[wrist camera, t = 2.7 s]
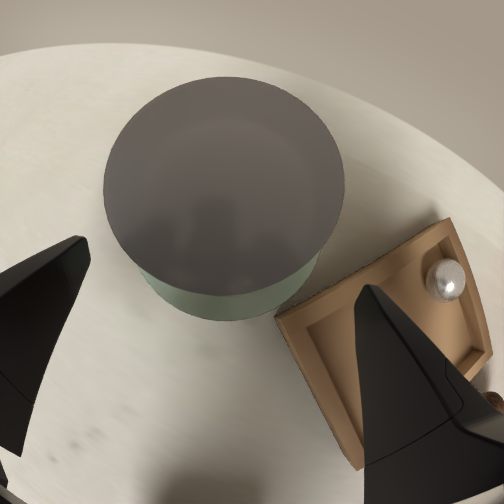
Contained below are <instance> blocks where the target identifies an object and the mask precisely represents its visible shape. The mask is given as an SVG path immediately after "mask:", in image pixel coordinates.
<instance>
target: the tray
mask: <svg viewBox="0 0 504 504" xmlns="http://www.w3.org/2000/svg"><path fill="white" fill-rule="evenodd" d="M443 258H449V259H453V260H455V261H456V262H458V263H459V264H460V265H461V267H462V268H463V270H464V273H465V279H466V281H465V287H464V290H463V292H462V294H461V295H460V296H459V297H458V298H457V299H456V300H454V301H453V302H450V303H440V302H437V301H435V300H434V299H433V298H432V297H431V296H430V295H429V293H428V291H427V288H426V275H427V272H428V270H429V268H430V267H431V265H432V264H433V263H435V262H436V261H438V260H440V259H443ZM365 284H374V285H377V286H379V287H380V288H381V289H382V290H383V291H384V292H385V293H386V294H387V295H388V296H389V297H390V298H391V299H392V300H393V301H394V302H395V303H396V304H397V305H398V306H399V307H400V308H401V309H402V310H403V311H404V312H405V313H406V314H407V315H408V316H409V317H410V318H411V319H412V320H413V321H414V323H415V324H416V325H417V326H418V327H419V328H420V329H421V330H422V331H423V332H424V333H425V334H426V335H427V336H428V337H429V338H430V339H431V341H432V342H433V343H434V344H435V345H436V346H437V347H438V348H439V349H440V350H441V351H442V353H443V354H444V355H445V357H447V358H448V359H449V360H450V361H451V363H452V364H453V365H454V366H455V367H456V368H457V369H458V370H459V371H460V373H461V374H462V375H463V376H464V377H465V378H466V379H467V380H468V381H470V380H471V379H472V378H473V377H474V376H475V375H476V374H477V373H478V372H479V370H480V369H481V368H482V367H483V366H484V365H485V363H486V362H487V361H488V360H489V359H490V357H491V356H492V355H493V351H492V346H491V341H490V336H489V331H488V327H487V322H486V318H485V314H484V310H483V307H482V303H481V300H480V296H479V293H478V289H477V286H476V283H475V280H474V277H473V274H472V271H471V268H470V265H469V263H468V260H467V257H466V254H465V252H464V249H463V247H462V244H461V242H460V239H459V237H458V235H457V232H456V230H455V228H454V225H453V223H452V221H451V219H450V217H449V218H446V219H444V220H442V221H439V222H437V223H434V224H432V225H430V226H428V227H427V228H425V229H424V230H422V231H421V232H419V233H418V234H416V235H415V236H413V237H412V238H410V239H409V240H407V241H405V242H404V243H402V244H401V245H399V246H398V247H396V248H394V249H393V250H391V251H390V252H388V253H386V254H385V255H383V256H382V257H380V258H378V259H377V260H375V261H373V262H372V263H370V264H368V265H367V266H365V267H363V268H362V269H360V270H358V271H357V272H355V273H353V274H352V275H350V276H348V277H346V278H345V279H343V280H341V281H339V282H338V283H336V284H334V285H332V286H331V287H329V288H327V289H325V290H323V291H322V292H320V293H318V294H316V295H314V296H312V297H311V298H309V299H307V300H305V301H303V302H301V303H299V304H298V305H296V306H294V307H292V308H290V309H288V310H286V311H284V312H282V313H280V314H278V315H276V316H274V318H275V320H276V322H277V324H278V326H279V328H280V330H281V332H282V334H283V336H284V338H285V340H286V342H287V344H288V346H289V348H290V350H291V352H292V354H293V356H294V358H295V360H296V362H297V364H298V366H299V368H300V370H301V372H302V374H303V376H304V378H305V380H306V382H307V384H308V386H309V388H310V390H311V392H312V394H313V396H314V398H315V400H316V402H317V403H318V405H319V407H320V409H321V411H322V413H323V415H324V417H325V419H326V421H327V423H328V425H329V427H330V429H331V431H332V433H333V435H334V437H335V439H336V440H337V442H338V444H339V446H340V448H341V450H342V452H343V454H344V456H345V457H346V458H347V459H348V461H349V462H350V463H351V465H352V466H353V467H354V468H355V470H356V471H358V470H360V469H362V468H363V467H365V466H364V439H363V422H362V408H361V396H360V386H359V376H358V367H357V359H356V350H355V323H354V304H355V301H356V299H357V297H358V296H359V294H360V292H361V290H362V288H363V286H364V285H365Z"/></svg>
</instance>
